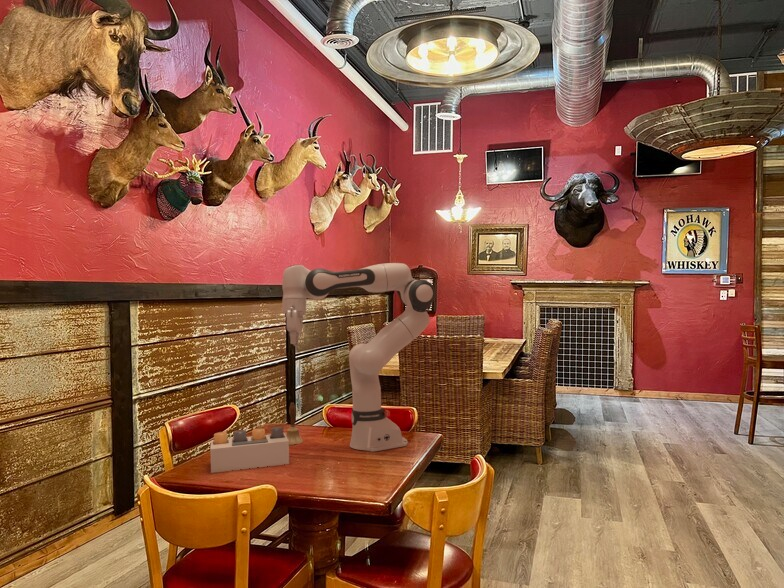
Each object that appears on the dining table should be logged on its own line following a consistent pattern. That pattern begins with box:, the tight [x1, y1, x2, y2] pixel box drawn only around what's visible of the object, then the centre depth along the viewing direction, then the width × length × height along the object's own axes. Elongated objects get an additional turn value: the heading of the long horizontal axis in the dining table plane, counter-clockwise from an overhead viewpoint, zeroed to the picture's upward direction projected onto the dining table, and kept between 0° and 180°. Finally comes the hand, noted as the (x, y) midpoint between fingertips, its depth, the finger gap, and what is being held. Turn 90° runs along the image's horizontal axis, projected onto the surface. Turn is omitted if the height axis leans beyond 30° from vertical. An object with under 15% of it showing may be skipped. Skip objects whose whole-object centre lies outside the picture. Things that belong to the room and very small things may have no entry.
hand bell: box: [286, 402, 304, 446], centre depth 218 cm, size 8×8×16 cm
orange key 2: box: [251, 427, 266, 440], centre depth 194 cm, size 4×4×6 cm
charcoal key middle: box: [232, 429, 247, 442], centre depth 192 cm, size 4×4×6 cm
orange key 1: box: [213, 431, 228, 445], centre depth 190 cm, size 4×4×6 cm
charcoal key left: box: [270, 426, 284, 439], centre depth 196 cm, size 4×4×6 cm
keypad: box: [209, 432, 290, 474], centre depth 191 cm, size 26×12×8 cm, turn 107°
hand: (294, 344), depth 201 cm, fingers open, 8 cm apart
